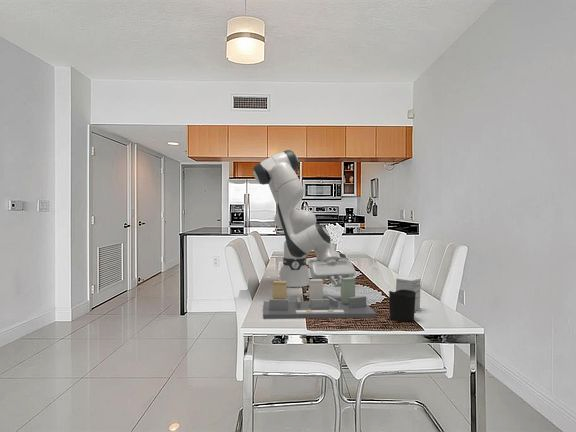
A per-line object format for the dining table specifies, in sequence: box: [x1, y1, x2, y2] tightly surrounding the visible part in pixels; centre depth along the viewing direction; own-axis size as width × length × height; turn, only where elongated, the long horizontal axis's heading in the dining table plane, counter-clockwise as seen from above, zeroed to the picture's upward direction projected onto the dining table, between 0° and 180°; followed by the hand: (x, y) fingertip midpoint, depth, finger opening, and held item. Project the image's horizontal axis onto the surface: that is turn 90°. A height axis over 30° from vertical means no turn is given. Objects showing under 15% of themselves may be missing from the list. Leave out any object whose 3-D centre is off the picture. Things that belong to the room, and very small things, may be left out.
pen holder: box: [388, 290, 416, 322], centre depth 160 cm, size 9×9×10 cm
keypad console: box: [263, 295, 378, 320], centre depth 171 cm, size 21×42×6 cm, turn 93°
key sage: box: [340, 277, 357, 304], centre depth 178 cm, size 3×5×10 cm, turn 115°
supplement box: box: [395, 275, 422, 312], centre depth 175 cm, size 7×7×13 cm
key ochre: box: [272, 280, 288, 299], centre depth 170 cm, size 3×5×10 cm, turn 83°
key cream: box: [308, 278, 324, 305], centre depth 174 cm, size 3×5×10 cm, turn 99°
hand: (338, 285), depth 182 cm, fingers closed
